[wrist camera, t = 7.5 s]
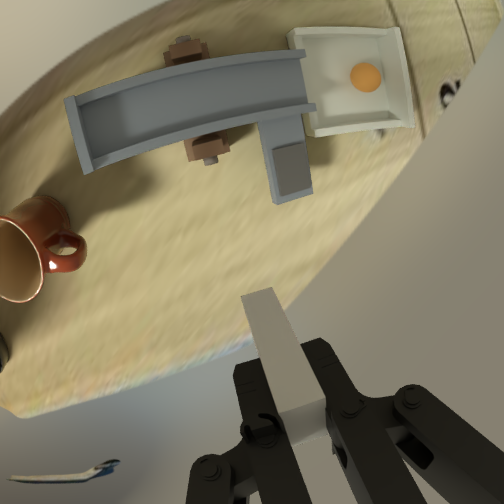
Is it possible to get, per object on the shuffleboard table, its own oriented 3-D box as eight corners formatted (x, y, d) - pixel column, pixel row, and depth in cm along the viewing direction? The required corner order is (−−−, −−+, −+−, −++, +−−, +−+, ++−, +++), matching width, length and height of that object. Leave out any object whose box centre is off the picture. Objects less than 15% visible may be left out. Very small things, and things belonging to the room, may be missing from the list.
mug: (22, 252, 31) (-17, 295, 22) (17, 184, 27) (-33, 214, 18) (104, 262, 33) (79, 314, 24) (105, 190, 30) (71, 223, 21)
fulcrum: (122, 179, 30) (103, 198, 23) (96, 79, 25) (69, 72, 18) (227, 149, 31) (236, 160, 24) (204, 47, 25) (207, 27, 19)
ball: (385, 91, 26) (381, 91, 28) (379, 60, 24) (376, 63, 27) (353, 93, 27) (352, 93, 30) (347, 62, 25) (347, 65, 28)
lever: (119, 255, 25) (119, 270, 23) (71, 102, 19) (63, 99, 16) (316, 189, 30) (333, 195, 28) (292, 53, 24) (309, 47, 22)
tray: (305, 135, 31) (321, 139, 27) (285, 34, 26) (298, 23, 22) (392, 123, 32) (415, 127, 28) (377, 33, 27) (399, 27, 23)
